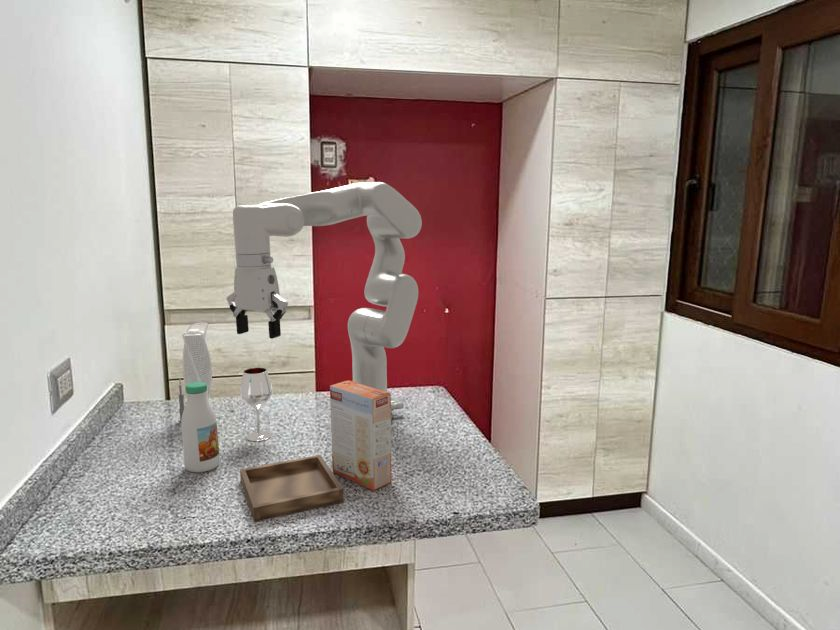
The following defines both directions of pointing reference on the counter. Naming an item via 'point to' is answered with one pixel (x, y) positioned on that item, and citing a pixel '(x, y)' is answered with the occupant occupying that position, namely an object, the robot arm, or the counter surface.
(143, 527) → the counter surface
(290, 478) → the walnut tray
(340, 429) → the cracker box
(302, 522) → the counter surface
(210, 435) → the milk bottle
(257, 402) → the wineglass
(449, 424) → the counter surface
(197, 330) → the skyscraper
